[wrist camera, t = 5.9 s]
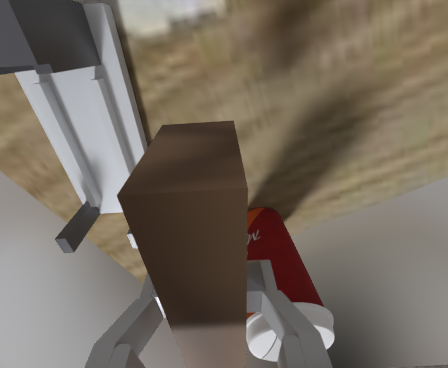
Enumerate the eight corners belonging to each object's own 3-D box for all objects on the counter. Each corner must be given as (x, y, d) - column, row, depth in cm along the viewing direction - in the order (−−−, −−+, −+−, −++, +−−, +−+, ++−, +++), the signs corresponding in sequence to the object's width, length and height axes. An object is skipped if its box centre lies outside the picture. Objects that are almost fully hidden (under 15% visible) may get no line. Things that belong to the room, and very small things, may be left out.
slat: (233, 120, 9) (247, 187, 5) (238, 299, 17) (246, 384, 13) (162, 125, 9) (116, 195, 5) (200, 301, 17) (194, 387, 13)
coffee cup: (228, 204, 29) (239, 328, 16) (289, 196, 29) (349, 316, 16) (234, 246, 33) (247, 368, 21) (288, 240, 33) (333, 360, 20)
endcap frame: (110, 5, 17) (30, -25, 10) (162, 202, 28) (143, 259, 21) (-2, 12, 17) (-168, -12, 10) (93, 206, 28) (49, 266, 21)
